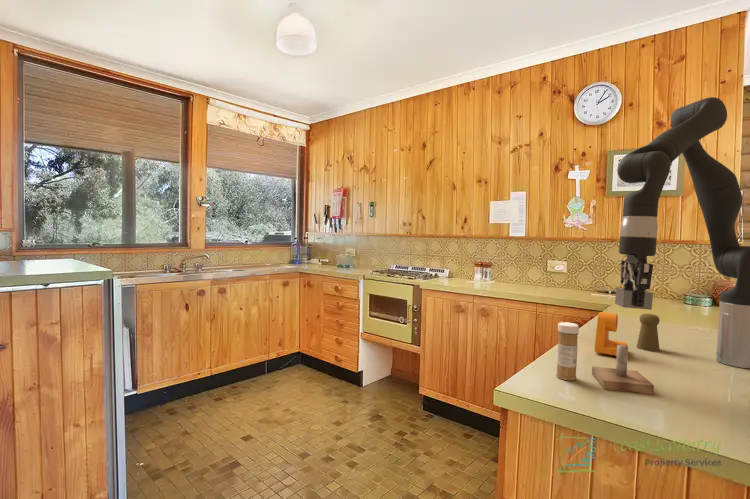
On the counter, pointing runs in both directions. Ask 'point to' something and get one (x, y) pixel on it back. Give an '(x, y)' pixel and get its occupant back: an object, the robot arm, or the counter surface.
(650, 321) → the olive pawn shape
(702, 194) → the robot arm
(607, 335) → the bracket
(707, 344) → the counter surface
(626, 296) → the collar
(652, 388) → the wooden peg stand
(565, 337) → the sprinkles bottle
